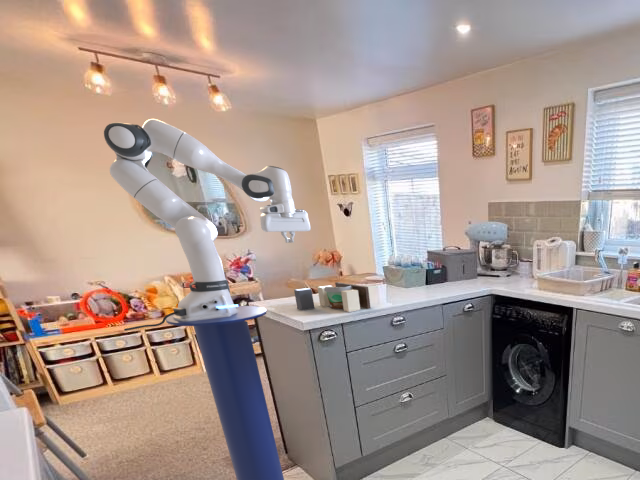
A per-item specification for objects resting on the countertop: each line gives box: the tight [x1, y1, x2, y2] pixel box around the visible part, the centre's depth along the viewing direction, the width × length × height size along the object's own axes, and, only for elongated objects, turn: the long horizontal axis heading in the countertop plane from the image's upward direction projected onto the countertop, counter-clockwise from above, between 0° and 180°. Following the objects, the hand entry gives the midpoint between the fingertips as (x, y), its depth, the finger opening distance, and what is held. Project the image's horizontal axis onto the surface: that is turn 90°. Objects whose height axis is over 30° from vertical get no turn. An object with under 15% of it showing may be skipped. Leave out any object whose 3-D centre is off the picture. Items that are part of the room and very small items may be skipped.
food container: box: [324, 285, 352, 310], centre depth 191 cm, size 12×6×10 cm, turn 112°
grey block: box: [293, 287, 315, 311], centre depth 189 cm, size 6×4×9 cm, turn 144°
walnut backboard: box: [334, 281, 371, 310], centre depth 198 cm, size 2×24×10 cm, turn 54°
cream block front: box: [341, 289, 361, 313], centre depth 187 cm, size 6×4×9 cm, turn 144°
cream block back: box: [317, 285, 335, 308], centre depth 197 cm, size 6×4×9 cm, turn 144°
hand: (289, 242), depth 182 cm, fingers closed
